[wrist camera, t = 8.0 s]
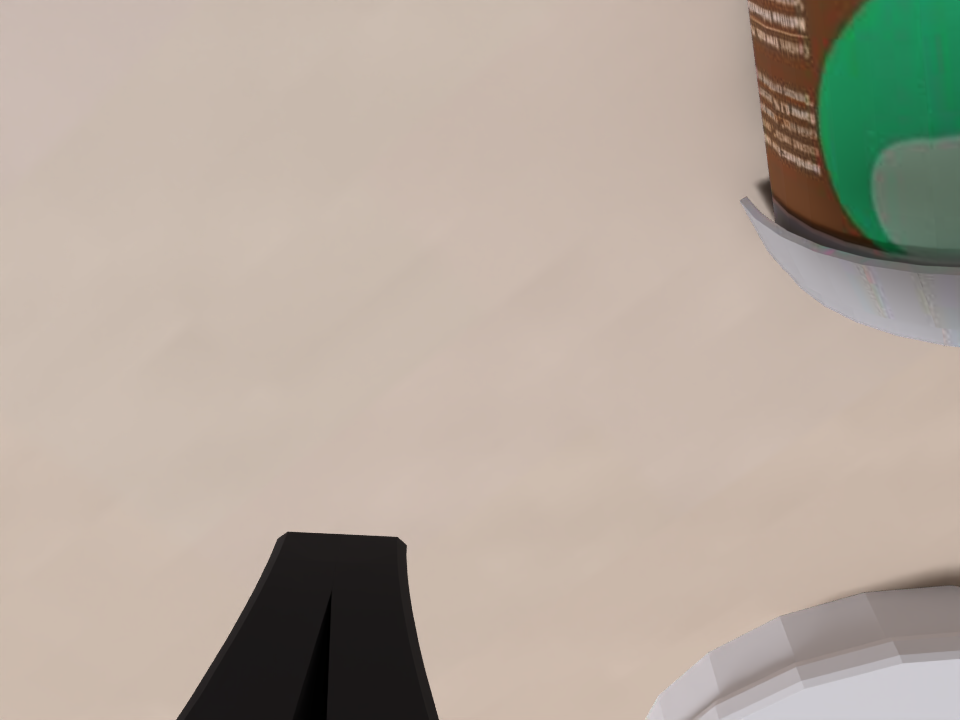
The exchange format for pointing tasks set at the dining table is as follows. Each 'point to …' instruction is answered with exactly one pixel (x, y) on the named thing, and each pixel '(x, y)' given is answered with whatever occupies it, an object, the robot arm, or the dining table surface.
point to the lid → (833, 664)
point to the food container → (864, 157)
